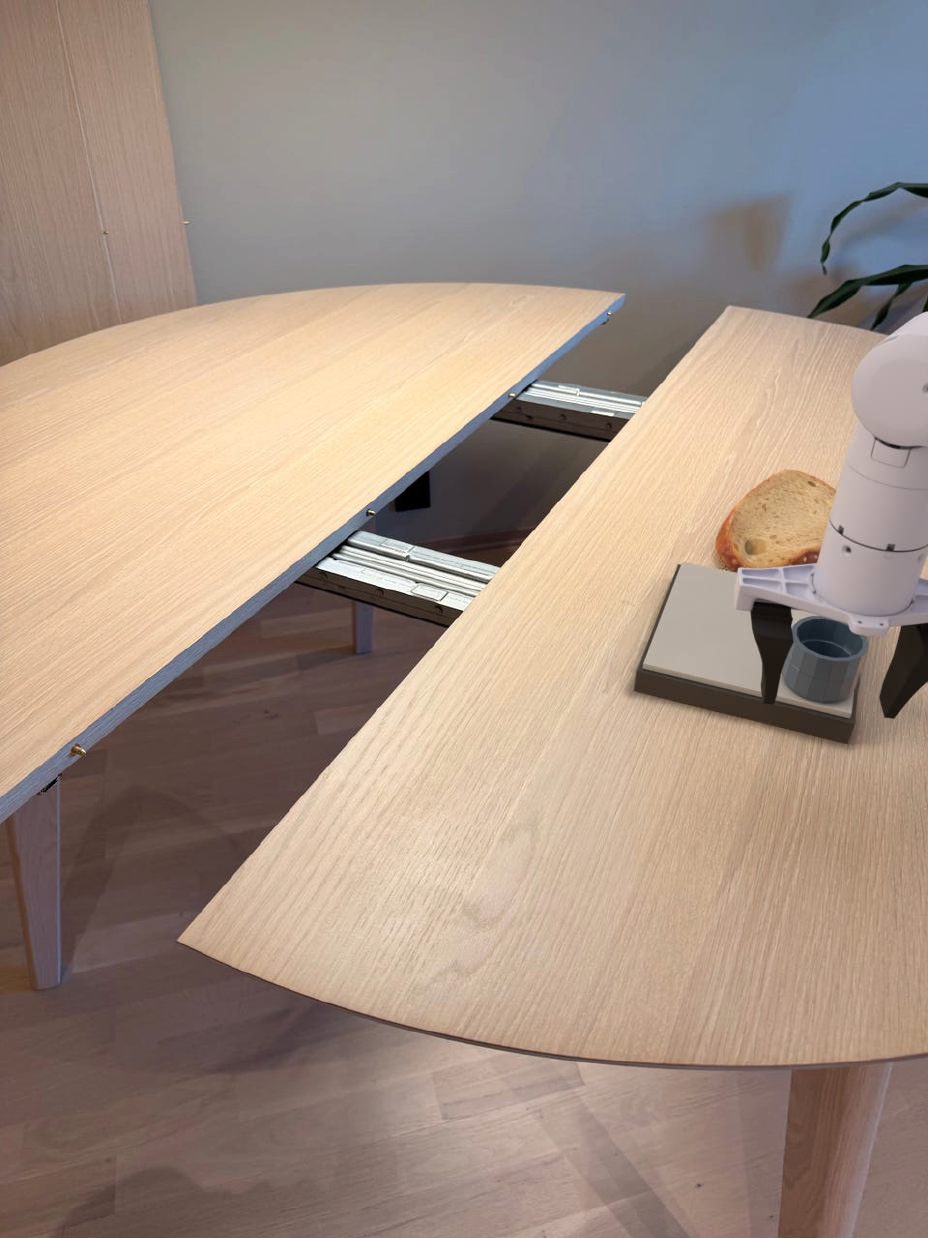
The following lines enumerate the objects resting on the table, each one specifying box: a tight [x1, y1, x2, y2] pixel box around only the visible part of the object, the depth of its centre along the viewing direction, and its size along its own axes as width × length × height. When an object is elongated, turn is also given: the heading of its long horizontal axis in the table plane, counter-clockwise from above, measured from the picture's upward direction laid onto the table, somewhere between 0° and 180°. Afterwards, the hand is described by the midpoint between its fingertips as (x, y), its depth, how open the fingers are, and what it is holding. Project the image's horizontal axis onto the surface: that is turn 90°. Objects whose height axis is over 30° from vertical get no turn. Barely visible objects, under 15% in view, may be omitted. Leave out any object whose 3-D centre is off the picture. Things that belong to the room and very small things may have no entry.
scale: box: [633, 561, 862, 745], centre depth 82 cm, size 17×17×3 cm
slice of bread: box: [714, 469, 837, 573], centre depth 98 cm, size 18×18×4 cm
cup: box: [781, 616, 869, 703], centre depth 74 cm, size 6×6×4 cm
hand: (826, 701), depth 63 cm, fingers open, 7 cm apart
